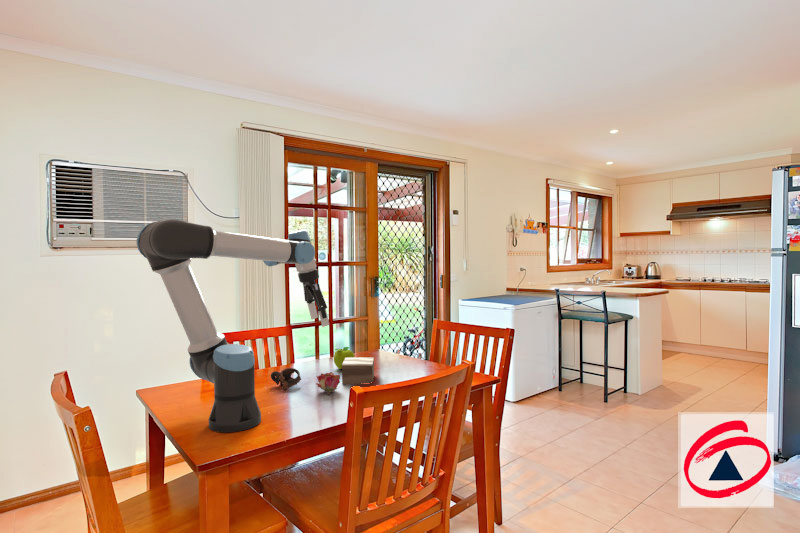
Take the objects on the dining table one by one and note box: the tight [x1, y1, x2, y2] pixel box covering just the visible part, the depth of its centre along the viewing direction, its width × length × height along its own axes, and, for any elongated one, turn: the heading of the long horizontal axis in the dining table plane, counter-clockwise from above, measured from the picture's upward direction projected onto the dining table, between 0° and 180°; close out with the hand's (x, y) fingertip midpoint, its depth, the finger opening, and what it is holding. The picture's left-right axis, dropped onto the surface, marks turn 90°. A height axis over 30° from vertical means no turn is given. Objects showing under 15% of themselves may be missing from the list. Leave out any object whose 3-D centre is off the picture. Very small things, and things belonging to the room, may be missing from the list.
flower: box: [315, 371, 341, 396], centre depth 169 cm, size 10×9×8 cm
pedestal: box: [341, 356, 375, 386], centre depth 185 cm, size 12×12×8 cm
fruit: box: [333, 346, 356, 370], centre depth 203 cm, size 9×9×10 cm
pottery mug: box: [270, 367, 302, 391], centre depth 177 cm, size 12×10×8 cm
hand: (320, 322), depth 178 cm, fingers open, 13 cm apart
